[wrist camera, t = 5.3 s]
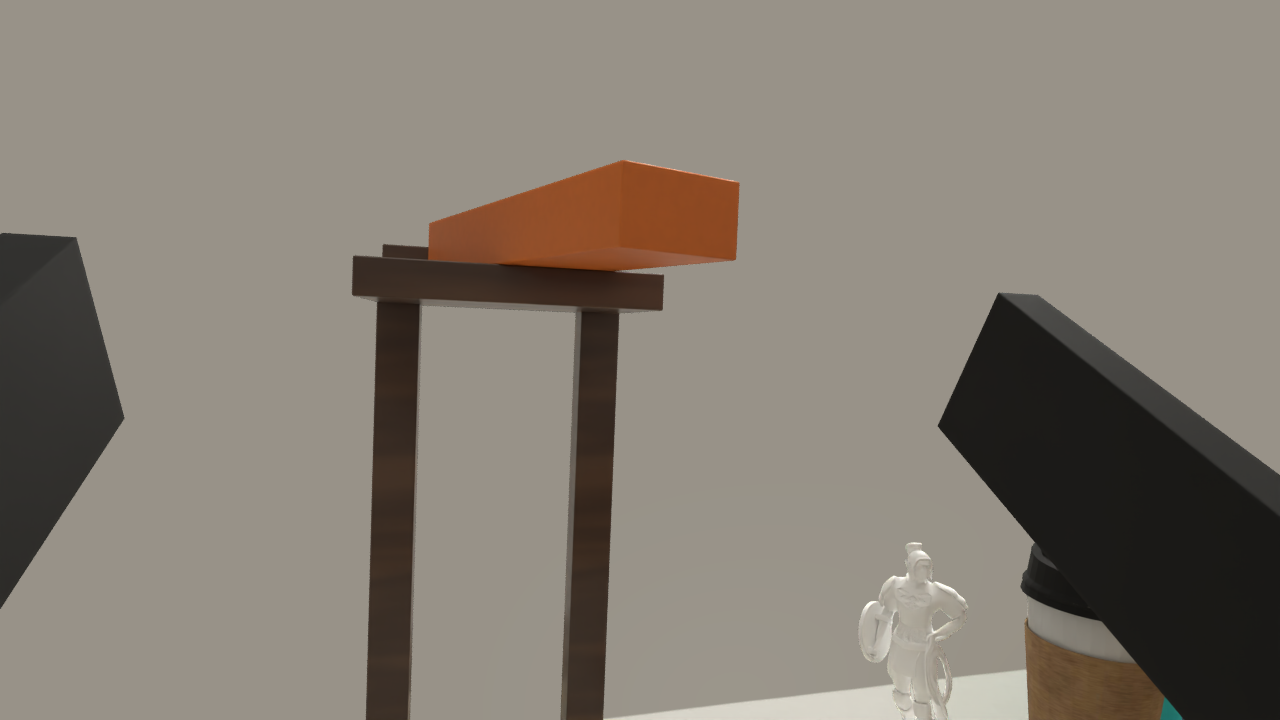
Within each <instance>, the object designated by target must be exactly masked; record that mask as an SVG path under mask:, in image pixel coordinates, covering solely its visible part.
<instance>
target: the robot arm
mask: <svg viewBox="0 0 1280 720" xmlns="http://www.w3.org/2000/svg"><path fill="white" fill-rule="evenodd" d="M123 419H124V415H123V411H122V407H121V403H120V400H119V396H118V392H117V388H116V385H115V381H114V377H113V373H112V370H111V366H110V362H109V358H108V355H107V351H106V347H105V344H104V340H103V336H102V332H101V329H100V325H99V321H98V317H97V313H96V310H95V306H94V302H93V298H92V295H91V291H90V287H89V283H88V280H87V276H86V272H85V268H84V265H83V261H82V257H81V253H80V250H79V246H78V243H77V239H76V237H61V236H44V235H27V234H11V233H2V234H0V609H1V607H2V606H3V604H4V602H5V601H6V599H7V598H8V596H9V595H10V593H11V592H12V590H13V588H14V587H15V586H16V584H17V583H18V581H19V579H20V578H21V576H22V575H23V573H24V572H25V570H26V569H27V567H28V566H29V564H30V563H31V561H32V560H33V558H34V556H35V555H36V553H37V552H38V550H39V549H40V547H41V546H42V544H43V543H44V541H45V540H46V538H47V537H48V535H49V533H50V532H51V530H52V529H53V527H54V526H55V524H56V523H57V521H58V520H59V518H60V516H61V515H62V513H63V512H64V510H65V509H66V507H67V506H68V504H69V503H70V501H71V500H72V498H73V497H74V495H75V493H76V492H77V490H78V489H79V487H80V486H81V484H82V483H83V481H84V480H85V478H86V477H87V475H88V474H89V472H90V470H91V469H92V467H93V466H94V464H95V463H96V461H97V460H98V458H99V457H100V455H101V454H102V452H103V451H104V449H105V447H106V446H107V444H108V443H109V441H110V440H111V438H112V437H113V435H114V434H115V432H116V430H117V429H118V427H119V426H120V424H121V423H122V421H123ZM938 427H939V428H940V430H941V431H942V432H943V433H944V434H945V436H946V437H947V438H948V439H949V440H950V442H951V443H952V444H953V445H954V446H955V448H956V449H957V450H958V451H959V452H960V453H961V455H962V456H963V457H964V458H965V459H966V460H967V462H968V463H969V464H970V465H971V467H972V468H973V469H974V470H975V471H976V472H977V474H978V475H979V476H980V477H981V478H982V480H983V481H984V482H985V483H986V484H987V486H988V487H989V488H990V489H991V490H992V492H993V493H994V494H995V495H996V496H997V497H998V499H999V500H1000V501H1001V502H1002V503H1003V505H1004V506H1005V507H1006V508H1007V509H1008V511H1009V512H1010V513H1011V514H1012V515H1013V517H1014V518H1016V520H1017V521H1018V523H1019V524H1020V525H1021V526H1022V527H1023V529H1024V530H1025V531H1026V532H1027V533H1028V534H1029V536H1030V537H1031V538H1032V539H1033V540H1034V542H1035V543H1036V544H1037V545H1038V546H1039V548H1040V549H1041V550H1042V551H1043V552H1044V554H1045V555H1046V556H1047V557H1048V558H1049V559H1050V561H1051V562H1052V563H1053V564H1054V565H1055V567H1056V568H1057V569H1058V570H1059V571H1060V573H1061V574H1062V575H1063V576H1064V577H1065V579H1066V580H1067V581H1068V582H1069V583H1070V584H1071V586H1072V587H1073V588H1074V589H1075V590H1076V592H1077V593H1078V594H1079V595H1080V596H1081V598H1082V599H1083V600H1084V601H1085V602H1086V604H1087V605H1088V606H1089V607H1090V608H1091V610H1092V611H1093V612H1094V613H1095V614H1096V615H1097V617H1098V618H1099V619H1100V620H1101V621H1102V623H1103V624H1104V625H1105V626H1106V627H1107V629H1108V630H1109V631H1110V632H1111V633H1112V635H1113V636H1114V637H1115V638H1116V639H1117V640H1118V642H1119V643H1120V644H1121V645H1122V646H1123V648H1124V649H1125V650H1126V651H1127V652H1128V654H1129V655H1130V656H1131V657H1132V658H1133V660H1134V661H1135V662H1136V663H1137V664H1138V666H1139V667H1140V668H1141V669H1142V670H1143V671H1144V673H1145V674H1146V675H1147V676H1148V677H1149V679H1150V680H1151V681H1152V682H1153V683H1154V685H1155V686H1156V687H1157V688H1158V689H1159V691H1160V692H1161V693H1162V694H1163V695H1164V696H1165V698H1166V699H1167V700H1168V701H1169V702H1170V704H1171V705H1172V706H1173V707H1174V708H1175V710H1176V711H1177V712H1178V713H1179V714H1180V716H1181V717H1182V718H1183V719H1184V720H1280V475H1279V474H1278V473H1276V472H1275V471H1274V470H1272V469H1271V468H1270V467H1268V466H1267V465H1265V464H1264V463H1262V462H1261V461H1260V460H1259V459H1257V458H1256V457H1255V456H1253V455H1252V454H1251V453H1249V452H1248V451H1247V450H1245V449H1244V448H1242V447H1241V446H1240V445H1239V444H1237V443H1236V442H1234V441H1233V440H1232V439H1231V438H1229V437H1228V436H1227V435H1225V434H1224V433H1222V432H1221V431H1220V430H1219V429H1217V428H1216V427H1214V426H1213V425H1212V424H1210V423H1209V422H1208V421H1206V420H1205V419H1204V418H1202V417H1201V416H1200V415H1198V414H1197V413H1196V412H1194V411H1193V410H1192V409H1190V408H1189V407H1187V406H1186V405H1185V404H1184V403H1182V402H1181V401H1179V400H1178V399H1177V398H1176V397H1174V396H1173V395H1171V394H1170V393H1169V392H1167V391H1166V390H1165V389H1163V388H1162V387H1161V386H1159V385H1158V384H1157V383H1155V382H1154V381H1152V380H1151V379H1150V378H1149V377H1147V376H1146V375H1145V374H1143V373H1142V372H1141V371H1139V370H1138V369H1137V368H1135V367H1134V366H1133V365H1131V364H1130V363H1128V362H1127V361H1126V360H1124V359H1123V358H1122V357H1120V356H1119V355H1118V354H1116V353H1115V352H1114V351H1112V350H1111V349H1110V348H1108V347H1107V346H1106V345H1104V344H1103V343H1102V342H1100V341H1099V340H1098V339H1096V338H1095V337H1094V336H1092V335H1091V334H1089V333H1088V332H1087V331H1085V330H1084V329H1083V328H1081V327H1080V326H1079V325H1077V324H1076V323H1075V322H1073V321H1072V320H1071V319H1069V318H1068V317H1067V316H1065V315H1064V314H1063V313H1061V312H1060V311H1059V310H1057V309H1056V308H1055V307H1053V306H1052V305H1051V304H1049V303H1048V302H1047V301H1045V300H1044V299H1042V298H1041V297H1040V296H1038V295H1029V294H1012V293H998V295H997V297H996V299H995V301H994V304H993V306H992V308H991V310H990V313H989V315H988V317H987V319H986V321H985V324H984V326H983V328H982V330H981V332H980V334H979V337H978V339H977V341H976V343H975V345H974V348H973V350H972V352H971V354H970V356H969V358H968V361H967V363H966V365H965V368H964V370H963V372H962V374H961V376H960V378H959V381H958V383H957V385H956V387H955V389H954V391H953V394H952V396H951V398H950V400H949V403H948V405H947V407H946V409H945V411H944V414H943V416H942V418H941V420H940V422H939V424H938Z"/></svg>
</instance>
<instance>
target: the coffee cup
mask: <svg viewBox="0 0 1280 720" xmlns="http://www.w3.org/2000/svg"><path fill="white" fill-rule="evenodd" d="M1022 579H1023V581H1022V583H1021V589H1022V591H1023V592H1024V593H1025V594H1026V595H1027V597H1028V617H1027V618H1026V619H1025V645H1026V667H1027V689H1028V712H1029V720H1160V718H1161V713H1162V708H1163V703H1164V697H1165V696H1164V695H1163V694H1162V693H1161V692H1160V691H1159V689H1158V688H1157V687H1156V686H1155V685H1154V683H1153V682H1152V681H1151V680H1150V679H1149V677H1148V676H1147V675H1146V674H1145V673H1144V671H1143V670H1142V669H1141V668H1140V667H1139V666H1138V664H1137V663H1136V662H1135V661H1134V660H1133V658H1132V657H1131V656H1130V655H1129V654H1128V652H1127V651H1126V650H1125V649H1124V648H1123V646H1122V645H1121V644H1120V643H1119V642H1118V640H1117V639H1116V638H1115V637H1114V636H1113V635H1112V633H1111V632H1110V631H1109V630H1108V629H1107V627H1106V626H1105V625H1104V624H1103V623H1102V621H1101V620H1100V619H1099V618H1098V617H1097V615H1096V614H1095V613H1094V612H1093V611H1092V610H1091V608H1090V607H1089V606H1088V605H1087V604H1086V602H1085V601H1084V600H1083V599H1082V598H1081V596H1080V595H1079V594H1078V593H1077V592H1076V590H1075V589H1074V588H1073V587H1072V586H1071V584H1070V583H1069V582H1068V581H1067V580H1066V579H1065V577H1064V576H1063V575H1062V574H1061V573H1060V571H1059V570H1058V569H1057V568H1056V567H1055V565H1054V564H1053V563H1052V562H1051V561H1050V559H1049V558H1048V557H1047V556H1046V555H1045V554H1044V552H1043V551H1042V550H1041V549H1040V548H1039V546H1038V545H1037V544H1036V543H1034V544H1033V546H1032V549H1031V554H1030V559H1029V564H1028V568H1027V570H1026V571H1025V572H1024V573H1023V577H1022Z"/></svg>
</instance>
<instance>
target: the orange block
mask: <svg viewBox="0 0 1280 720" xmlns="http://www.w3.org/2000/svg"><path fill="white" fill-rule="evenodd" d="M738 203H739V182H737V181H732V180H726V179H721V178H716V177H711V176H705V175H700V174H695V173H690V172H685V171H679V170H674V169H669V168H664V167H658V166H653V165H648V164H643V163H637V162H632V161H627V160H622V161H618V162H615V163H612V164H610V165H606V166H603V167H600V168H597V169H594V170H591V171H588V172H585V173H582V174H579V175H576V176H572V177H570V178H566V179H563V180H560V181H557V182H554V183H551V184H548V185H545V186H542V187H539V188H536V189H533V190H530V191H527V192H523V193H520V194H517V195H514V196H511V197H508V198H505V199H502V200H499V201H496V202H493V203H490V204H487V205H484V206H481V207H477V208H474V209H471V210H468V211H466V212H462V213H459V214H456V215H453V216H450V217H447V218H444V219H441V220H438V221H435V222H432V223H430V224H429V251H428V260H438V261H455V262H471V263H488V264H504V265H521V266H537V267H554V268H570V269H587V270H603V271H620V270H632V269H643V268H653V267H666V266H677V265H688V264H700V263H710V262H722V261H733V260H736V249H737V226H738Z"/></svg>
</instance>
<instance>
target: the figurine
mask: <svg viewBox="0 0 1280 720" xmlns="http://www.w3.org/2000/svg"><path fill="white" fill-rule="evenodd" d="M921 547H922V544H921V543H908V544H907V545H906V547H905V548H906V550H907V552H908V553H909V555H908V560H906V559H905V565H906V567H907V570H908V573H907V574H906V577H896V576H892V577H891V578H890V579H888V580H887V581H886V582H885V583H884V585H883V586H882V589H881V593H880V595H879V598H878V602H877V601H872V602H870V603H868V604H867V605H866V606H865V608H864V610H863V612H862V614H861V617H860V622H859V643H860V648H861V651H862V653H863V655H864V657H865V658H866V659H867V660H869V661H871V662H876V663H877V662H880V661H882V660H883V659H884V657H885V656H886V654H887V652H888V650H889V655H888V665H887V670H888V674H889V676H891V678H892V680H893V683H894V685H895V688H894V689H893V699H894V702H895V703H896V707H897V709H898V710H899V711H900V712H901V714H902V717H903V720H915V716H916V717H917V718H916V720H948V713H947V710H946V707H945V705H946V704H947V702H948V700H949V698H950V694H951V690H952V676H951V672H950V667H949V663H948V660H947V658H946V656H945V653H944V652H943V650H942V648H941V647H940V646H939V645H938V644H937V642H940V641H943V640H945V639H946V638H948V637H950V636H951V633H954V632H956V631H957V630H959V629H960V628H961V627H963V625H964V624H965V622H966V620H967V615H966V613H965V611H964V609H965V610H967V609H968V605H967V604H966V601H965V599H964V598H962V597H961V596H959V595H958V594H957V592H956V591H955V590H954V589H952V588H950V587H948V586H945V585H943V584H940V583H938V582H934V583H931V582H929V581H928V578H929V576H930V579H931V580H932V572H933V564H932V560H931V559H930V557H929V556H928V555H927V554H926V553H925V552H923V551H921ZM930 569H931V571H930ZM938 610H941V611H943V612H944V613H945V614H946V615H947V616H948V617H950V618H951V619H954V620H952V621H950V622H949V623H947V624H945V625H944V626H943V627H941V628H939V629H938V630H936V631H934V630H933V629H932V624H931V621H932V617H933V615H934V613H935V612H936V611H938ZM895 612H898V614H899V621H898V625H897V627H896V628H895V629H894V631H893V634H892V628H891V625H892V623H893V620H892V618H893V616H894V613H895ZM891 635H892V638H891ZM889 647H890V648H889ZM937 657H938V658H939V659H940V660H941V662H942V664H943V667H944V672H945V676H946V684H945V690H944V693H943V695H942V696H941V693H940V691H939V686H938V682H937ZM911 683H912V688H913V693H914V699H915V700H913V699H912V698H911V697H910V696H911V693H910V687H911ZM930 700H931V703H932V707H933V711H934V714H935V718H936V719H935V718H934V717H932V715H931V705H930Z"/></svg>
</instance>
